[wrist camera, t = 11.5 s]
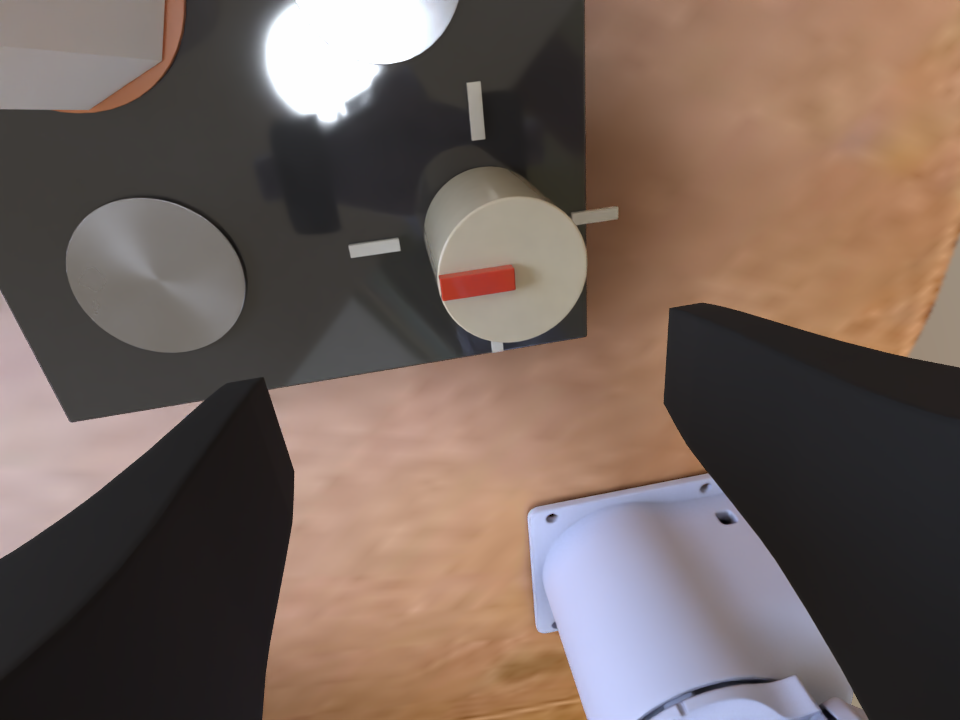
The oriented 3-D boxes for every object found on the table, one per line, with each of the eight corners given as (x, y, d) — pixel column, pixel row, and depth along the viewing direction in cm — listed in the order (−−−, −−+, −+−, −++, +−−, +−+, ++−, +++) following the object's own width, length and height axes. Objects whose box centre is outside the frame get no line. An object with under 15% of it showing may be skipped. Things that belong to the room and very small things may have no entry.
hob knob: (544, 157, 16) (592, 189, 13) (549, 280, 18) (593, 336, 15) (415, 175, 16) (428, 212, 13) (432, 298, 18) (448, 360, 14)
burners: (444, -232, 12) (445, -237, 12) (492, 301, 18) (493, 303, 18) (-183, -193, 11) (-192, -197, 11) (86, 364, 17) (83, 368, 17)
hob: (586, -213, 15) (628, -260, 12) (589, 303, 22) (616, 335, 19) (-158, -163, 13) (-269, -206, 11) (101, 381, 20) (67, 427, 18)
